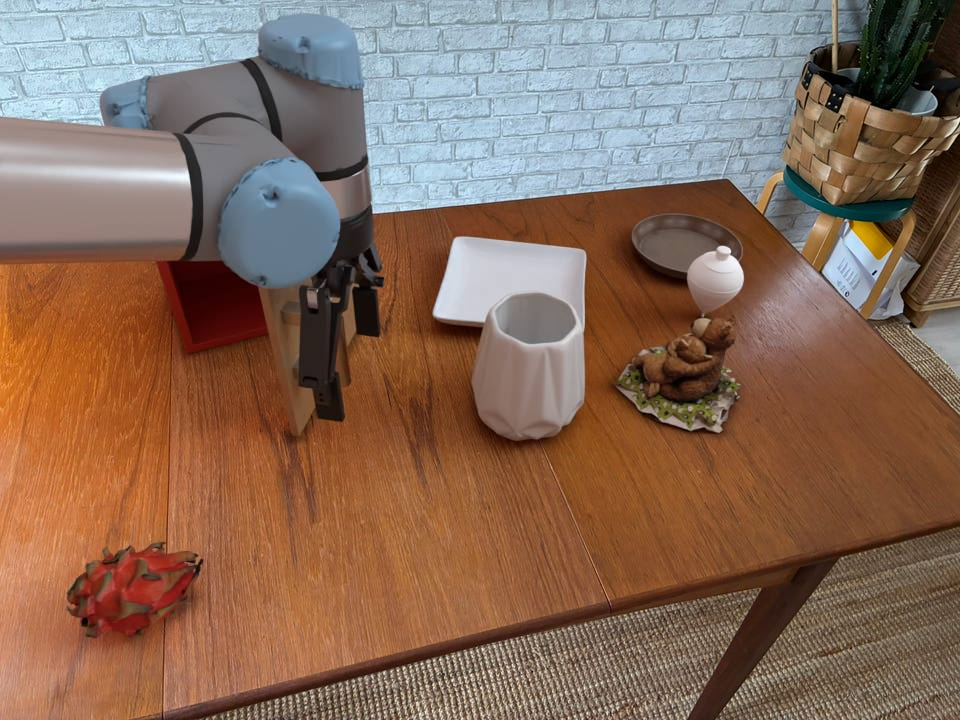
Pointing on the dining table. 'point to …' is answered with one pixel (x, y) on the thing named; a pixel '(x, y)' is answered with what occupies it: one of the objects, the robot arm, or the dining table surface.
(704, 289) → the spinning top
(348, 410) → the dining table surface
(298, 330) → the cabinet door
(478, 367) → the vase
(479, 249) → the plate
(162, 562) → the dragon fruit
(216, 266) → the cabinet
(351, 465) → the dining table surface
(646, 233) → the plant saucer
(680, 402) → the bear figurine
